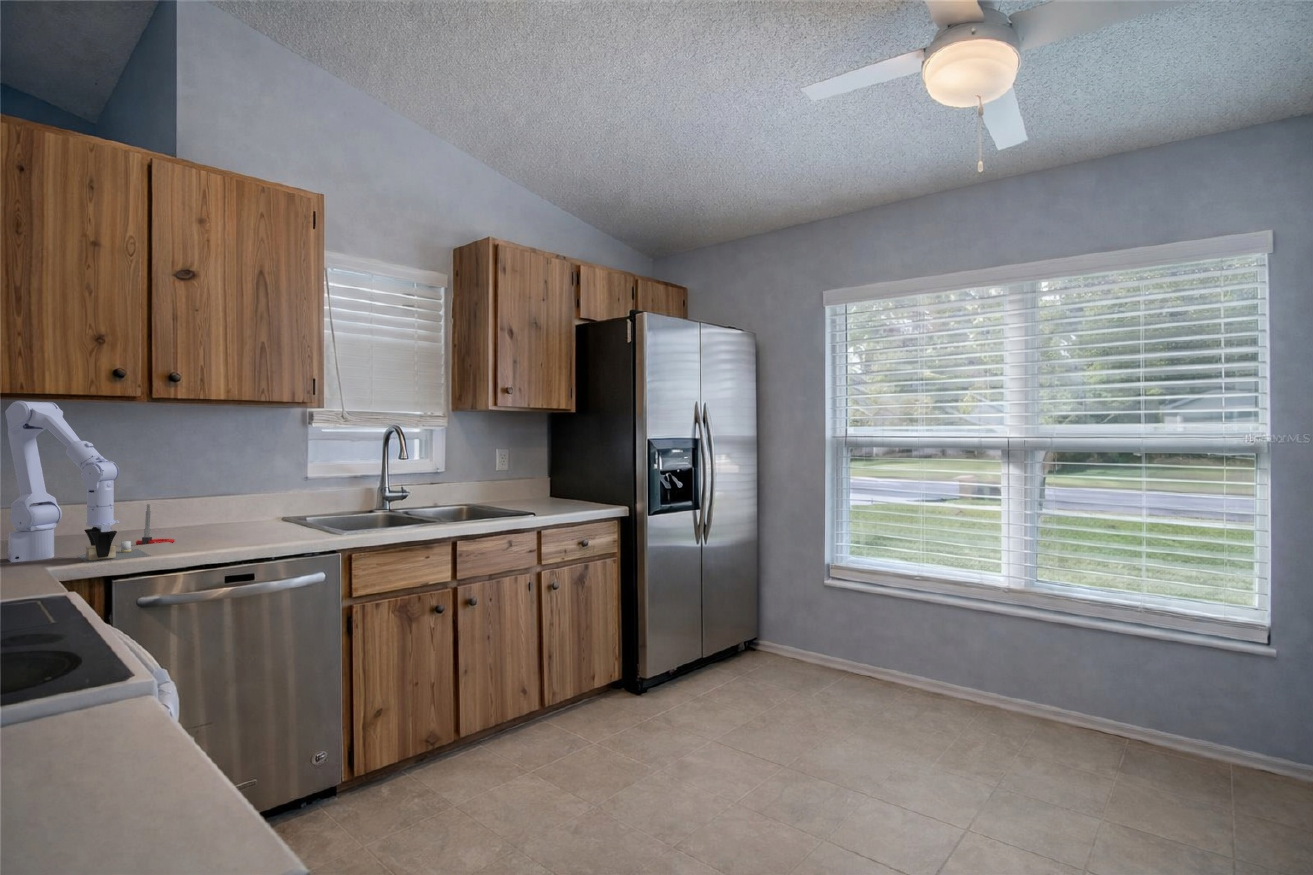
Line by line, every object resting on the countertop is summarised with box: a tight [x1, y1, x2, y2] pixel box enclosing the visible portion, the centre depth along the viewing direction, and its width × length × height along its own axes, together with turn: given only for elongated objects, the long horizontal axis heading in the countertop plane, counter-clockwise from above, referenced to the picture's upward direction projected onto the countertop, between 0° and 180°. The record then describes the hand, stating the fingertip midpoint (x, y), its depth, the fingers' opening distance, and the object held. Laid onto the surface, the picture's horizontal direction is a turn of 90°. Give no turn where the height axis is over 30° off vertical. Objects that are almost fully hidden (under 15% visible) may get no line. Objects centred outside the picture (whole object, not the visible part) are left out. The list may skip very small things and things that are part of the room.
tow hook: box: [135, 503, 176, 546], centre depth 220 cm, size 8×13×9 cm
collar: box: [85, 543, 117, 560], centre depth 188 cm, size 6×6×3 cm
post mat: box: [76, 540, 152, 564], centre depth 193 cm, size 14×16×4 cm
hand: (100, 555), depth 188 cm, fingers closed on collar, 6 cm apart
